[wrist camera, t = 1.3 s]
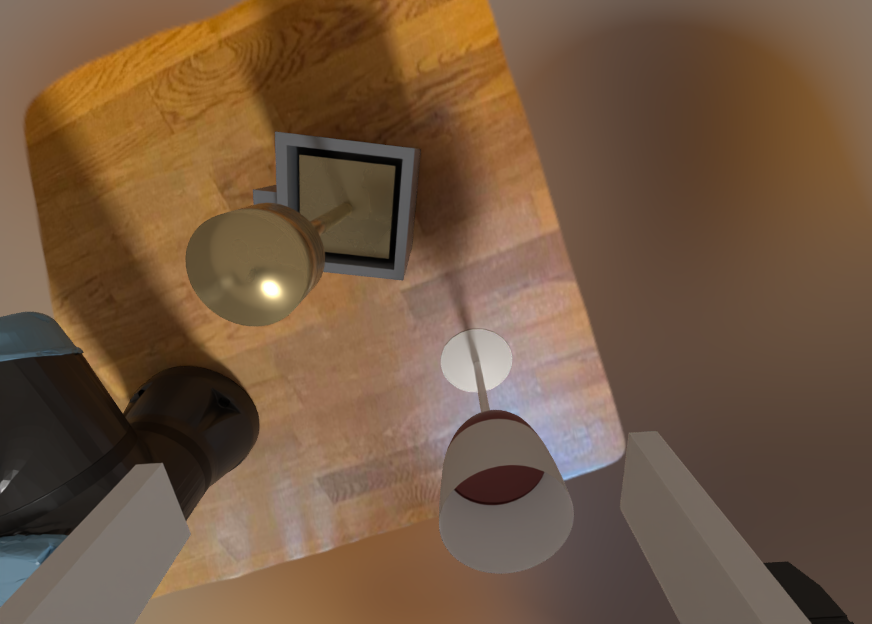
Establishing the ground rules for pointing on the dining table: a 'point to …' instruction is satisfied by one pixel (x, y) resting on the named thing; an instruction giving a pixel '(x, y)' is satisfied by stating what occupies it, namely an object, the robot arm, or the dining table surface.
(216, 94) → the dining table surface
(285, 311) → the plunger
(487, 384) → the wineglass
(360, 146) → the press pot
